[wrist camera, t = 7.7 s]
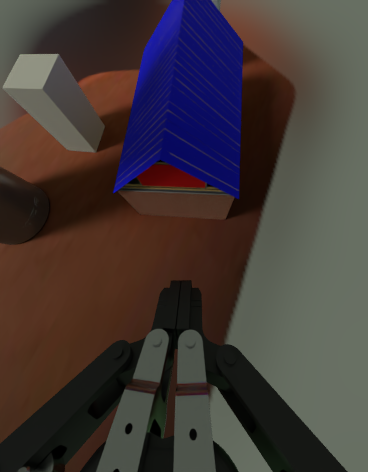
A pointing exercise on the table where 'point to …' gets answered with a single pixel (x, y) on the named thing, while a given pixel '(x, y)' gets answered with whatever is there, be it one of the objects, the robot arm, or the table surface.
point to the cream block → (55, 101)
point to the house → (185, 117)
